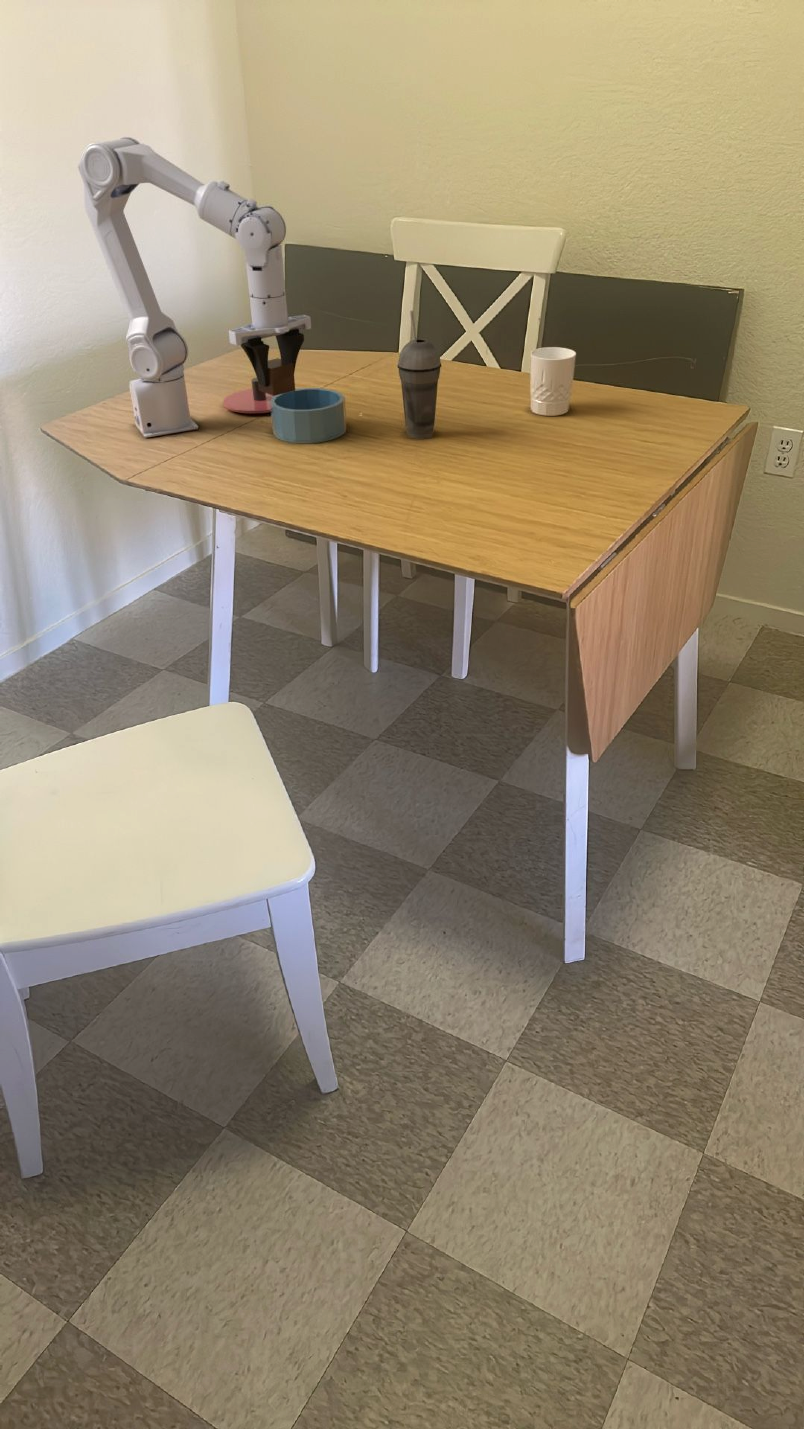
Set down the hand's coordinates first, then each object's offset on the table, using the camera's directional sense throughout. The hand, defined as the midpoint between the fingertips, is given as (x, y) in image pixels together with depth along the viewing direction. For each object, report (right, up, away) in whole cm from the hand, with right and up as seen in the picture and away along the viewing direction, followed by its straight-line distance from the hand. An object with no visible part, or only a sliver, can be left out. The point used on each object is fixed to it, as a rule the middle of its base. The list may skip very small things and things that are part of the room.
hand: (276, 381), depth 161 cm
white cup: (+47, 0, +14) cm, 50 cm away
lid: (-6, +3, +20) cm, 21 cm away
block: (0, -1, +1) cm, 1 cm away
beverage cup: (+24, -7, +5) cm, 26 cm away
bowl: (+5, -6, +8) cm, 11 cm away
